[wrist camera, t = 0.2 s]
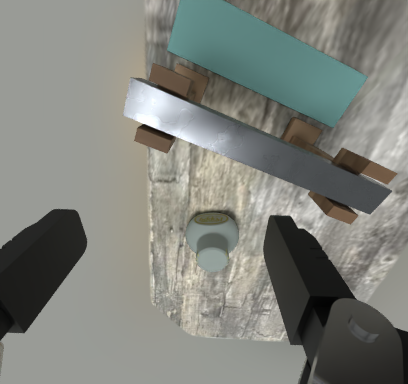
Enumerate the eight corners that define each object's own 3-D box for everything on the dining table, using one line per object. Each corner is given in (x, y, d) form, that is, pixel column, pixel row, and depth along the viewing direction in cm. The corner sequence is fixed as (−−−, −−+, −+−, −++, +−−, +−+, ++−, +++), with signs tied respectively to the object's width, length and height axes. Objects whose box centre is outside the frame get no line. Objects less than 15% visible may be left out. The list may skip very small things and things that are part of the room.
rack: (178, 64, 31) (142, 42, 15) (318, 128, 35) (414, 169, 18) (163, 116, 34) (120, 146, 18) (291, 169, 38) (352, 233, 22)
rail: (141, 78, 19) (130, 77, 16) (371, 178, 23) (392, 190, 20) (134, 110, 20) (123, 115, 17) (352, 200, 24) (370, 214, 21)
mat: (185, -19, 27) (185, -20, 26) (366, 77, 31) (368, 76, 31) (167, 50, 30) (167, 50, 30) (332, 127, 35) (333, 127, 34)
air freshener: (237, 209, 43) (244, 242, 34) (236, 240, 47) (243, 276, 38) (185, 211, 43) (178, 244, 35) (189, 241, 47) (184, 278, 38)
